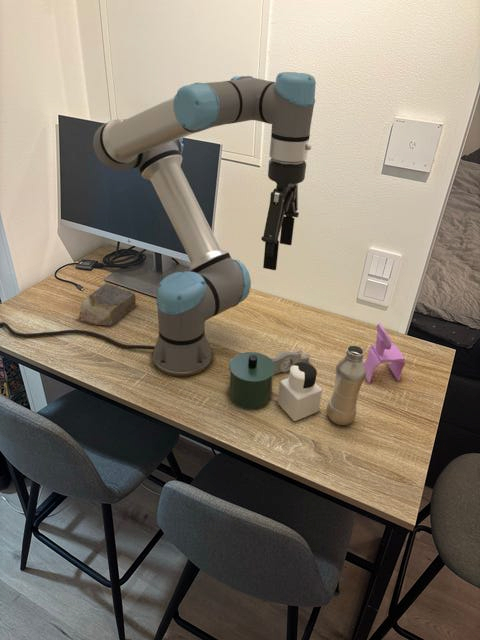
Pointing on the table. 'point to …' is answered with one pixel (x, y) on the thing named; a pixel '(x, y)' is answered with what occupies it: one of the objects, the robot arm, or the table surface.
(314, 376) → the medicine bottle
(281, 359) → the lattice window wall
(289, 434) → the table surface
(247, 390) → the pot
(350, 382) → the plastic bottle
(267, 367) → the pot lid
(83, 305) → the geological specimen
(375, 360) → the toy chair
